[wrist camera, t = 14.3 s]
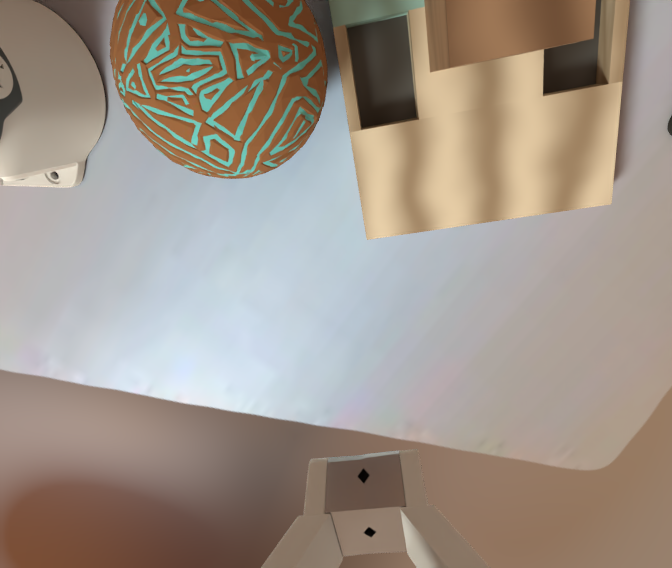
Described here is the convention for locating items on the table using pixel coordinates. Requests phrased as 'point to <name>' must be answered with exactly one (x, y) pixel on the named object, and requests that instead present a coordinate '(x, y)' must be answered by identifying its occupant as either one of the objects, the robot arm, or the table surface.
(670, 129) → the phone
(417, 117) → the board
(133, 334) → the table surface
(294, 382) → the table surface
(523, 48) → the walnut block
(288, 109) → the decorative sphere
